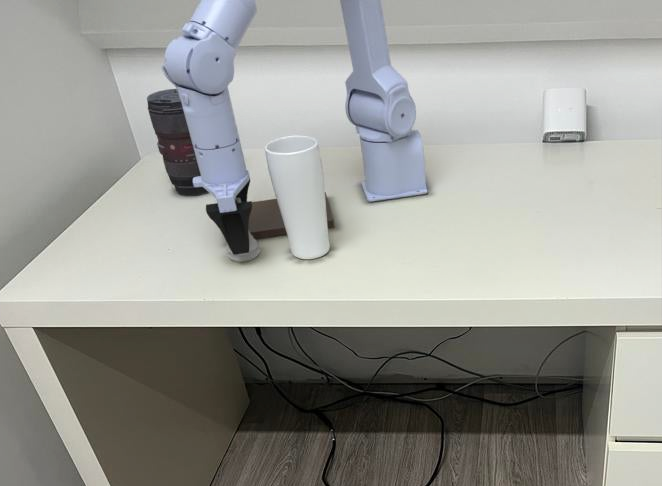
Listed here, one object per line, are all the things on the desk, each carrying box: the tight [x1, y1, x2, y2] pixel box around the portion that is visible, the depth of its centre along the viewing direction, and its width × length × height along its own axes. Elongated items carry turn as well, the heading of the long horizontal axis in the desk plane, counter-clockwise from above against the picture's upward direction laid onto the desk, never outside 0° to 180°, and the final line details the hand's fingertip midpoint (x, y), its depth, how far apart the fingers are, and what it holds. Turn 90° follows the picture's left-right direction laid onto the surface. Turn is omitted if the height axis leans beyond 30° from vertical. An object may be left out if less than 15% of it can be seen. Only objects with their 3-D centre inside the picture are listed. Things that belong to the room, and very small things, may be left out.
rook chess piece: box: [225, 197, 261, 263], centre depth 100 cm, size 4×4×8 cm
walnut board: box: [248, 191, 336, 240], centre depth 111 cm, size 15×11×1 cm
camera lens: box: [146, 88, 209, 197], centre depth 118 cm, size 8×8×15 cm
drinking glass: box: [264, 135, 331, 260], centre depth 98 cm, size 7×7×15 cm
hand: (240, 240), depth 101 cm, fingers open, 7 cm apart
